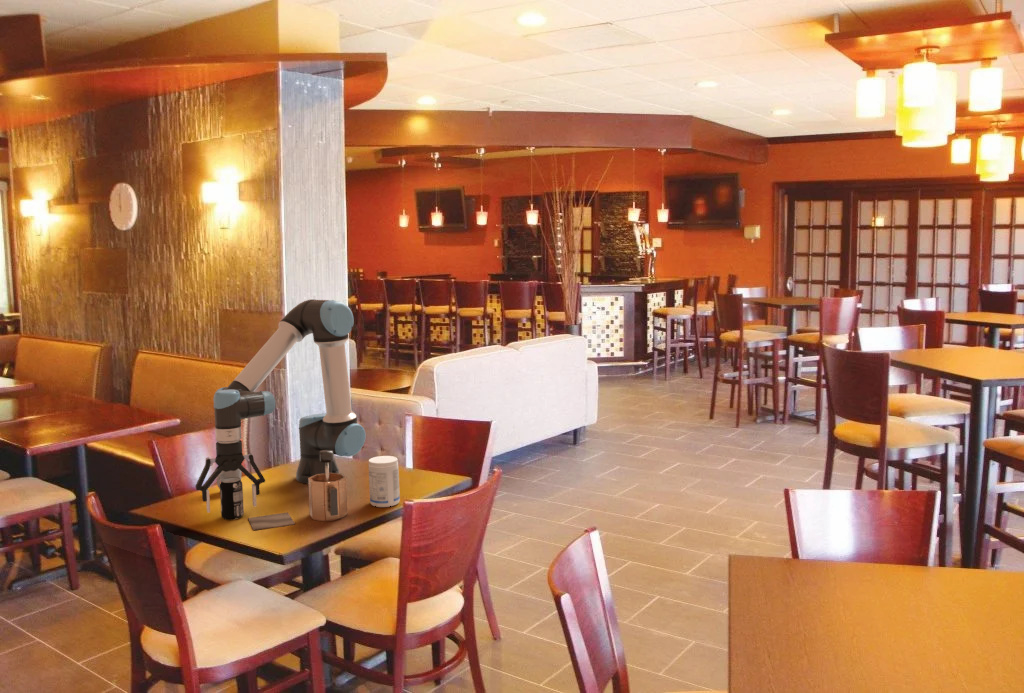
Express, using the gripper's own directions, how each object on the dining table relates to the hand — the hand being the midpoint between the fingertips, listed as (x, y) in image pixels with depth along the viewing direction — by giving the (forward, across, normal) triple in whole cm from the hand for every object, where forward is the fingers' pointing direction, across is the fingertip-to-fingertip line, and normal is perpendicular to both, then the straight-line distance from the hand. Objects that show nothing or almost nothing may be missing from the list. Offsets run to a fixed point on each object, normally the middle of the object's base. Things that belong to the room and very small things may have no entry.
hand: (231, 508), depth 259 cm
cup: (+3, +2, +28) cm, 28 cm away
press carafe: (+3, +27, -13) cm, 30 cm away
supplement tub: (+3, +46, -8) cm, 47 cm away
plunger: (-1, +27, -12) cm, 30 cm away
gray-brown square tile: (+3, +10, -10) cm, 14 cm away
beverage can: (+3, 0, 0) cm, 3 cm away
